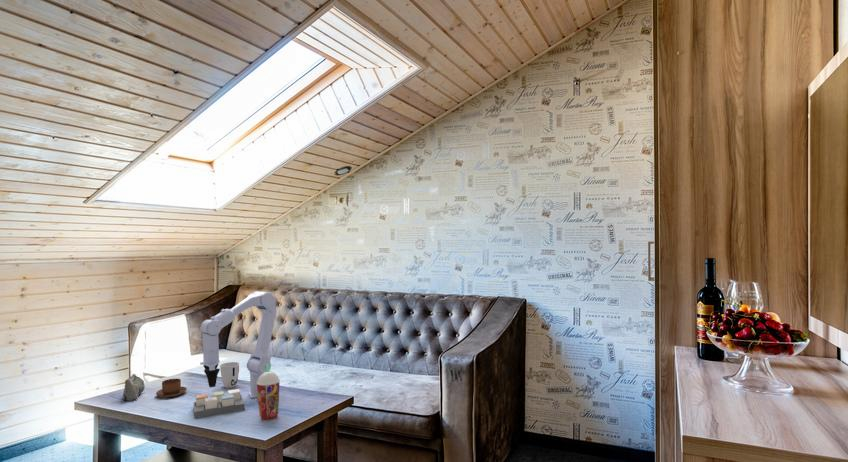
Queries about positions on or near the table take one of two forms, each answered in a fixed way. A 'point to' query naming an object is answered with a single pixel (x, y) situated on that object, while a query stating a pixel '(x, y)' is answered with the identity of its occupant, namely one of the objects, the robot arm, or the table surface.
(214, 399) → the cream key
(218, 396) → the sage key
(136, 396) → the mineral rock
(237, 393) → the cream key
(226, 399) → the blue key
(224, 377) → the cup
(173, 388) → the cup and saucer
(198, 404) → the terracotta key
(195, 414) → the keypad board
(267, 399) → the smoothie
